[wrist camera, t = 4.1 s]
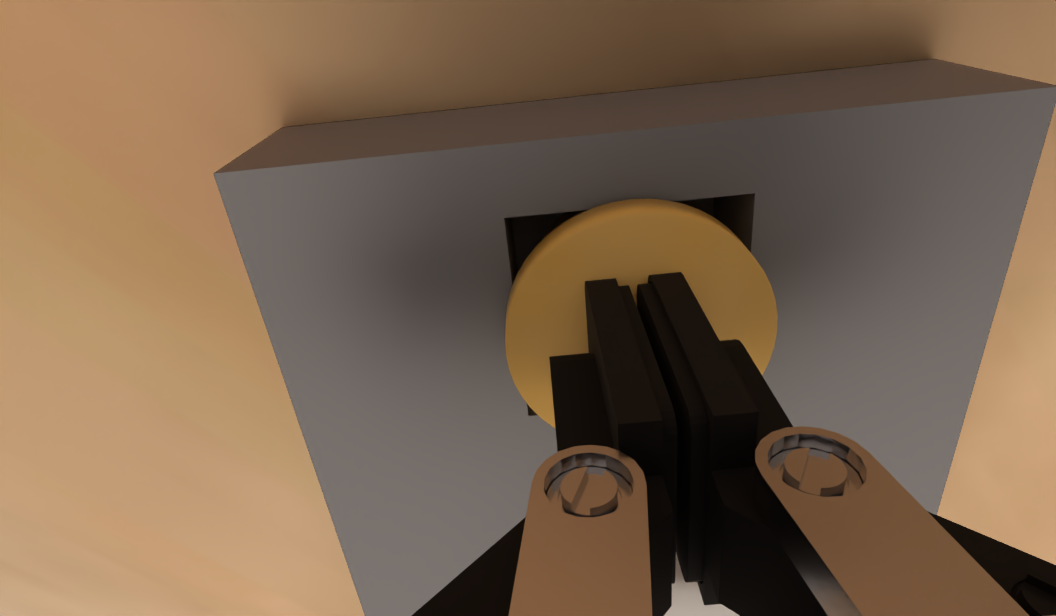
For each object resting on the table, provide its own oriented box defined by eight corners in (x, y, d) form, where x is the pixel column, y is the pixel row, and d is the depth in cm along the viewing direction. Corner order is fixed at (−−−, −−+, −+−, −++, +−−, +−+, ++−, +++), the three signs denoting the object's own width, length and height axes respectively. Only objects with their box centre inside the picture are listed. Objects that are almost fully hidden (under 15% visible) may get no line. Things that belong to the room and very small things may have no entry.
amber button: (732, 150, 13) (790, 200, 10) (721, 351, 15) (766, 436, 12) (495, 174, 13) (488, 230, 10) (519, 369, 15) (520, 458, 12)
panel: (934, 58, 13) (1060, 86, 10) (816, 665, 23) (862, 772, 20) (282, 127, 14) (213, 173, 11) (439, 692, 24) (428, 800, 21)
